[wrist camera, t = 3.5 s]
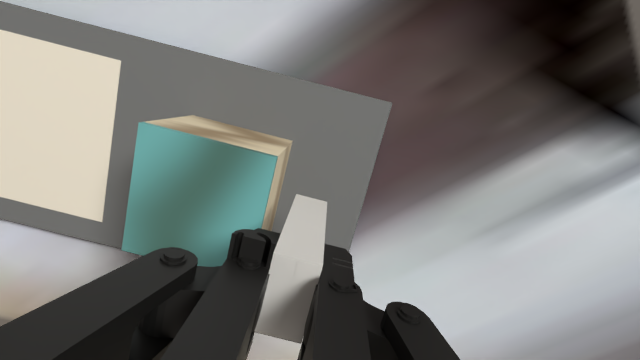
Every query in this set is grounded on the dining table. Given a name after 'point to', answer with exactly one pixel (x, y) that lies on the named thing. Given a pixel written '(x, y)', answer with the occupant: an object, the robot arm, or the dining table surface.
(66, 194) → the charcoal mat
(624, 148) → the dining table surface
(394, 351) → the robot arm
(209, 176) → the birch block
